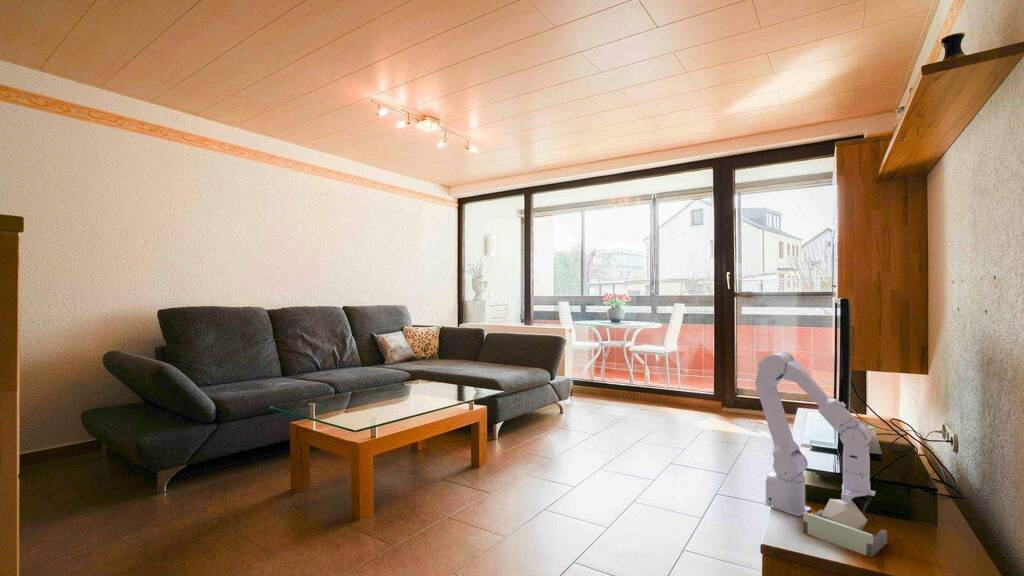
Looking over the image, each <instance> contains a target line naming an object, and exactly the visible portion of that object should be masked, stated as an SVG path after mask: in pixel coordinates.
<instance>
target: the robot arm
mask: <svg viewBox="0 0 1024 576" xmlns="http://www.w3.org/2000/svg"><path fill="white" fill-rule="evenodd" d="M757 366H758V369H757V370H758V371H757V373H756V378H755V381H754V383H755V388H756V391H757V395H758V397H759V400H760V403H761V408H762V410H763V413H764V417H765V420H766V423H767V426H768V429H769V432H770V435H771V440H772V442H773V443H772V444H773V448H772V457H773V462H772V463H773V464H772V467H773V471H770V472H769V473H768V474H767V476H766V479H765V502H764V506H767V507H769V508H771V509H772V508H773V509H776V510H779V511H781V512H784V513H786V514H790V515H792V516H795V517H799V518H800V517H801V516H803V513H804V512H807V513H809V511H811V510H812V508H811V507H810V506H807V505H806V476H805V475H804V472H805V471H806V470H807V468H808V464H809V463H808V460H807V458H806V456H805V455H804V453H803V452H802V451H801V448H800V447H799V446H800V445H799V444H797V442H796V441H795V440H794V438H793V435H792V431H791V428H790V425H789V421H788V419H787V416H786V415H787V414H786V412H785V409H784V406H783V403H782V400H781V397H780V394H779V393H780V392H779V390H778V388H777V386H778V384H780V382H781V380H787V381H790V382H795V383H796V385H798V387H800V388H801V389H802V391H804V392H805V393H806V394H807V395H808V396H809V397H810V399H812V400H813V401H814V402H815V403H816V404H817V407H818V412H819V414H820V415H821V416H822V417H823V418H824V419H825V420H826V422H827V423H828V424H829V425H830V426H831V427H832V429H834V430H835V431H836V432H837V433H839V434H840V435H839V441H840V442H841V443H842V445H843V450H842V484H841V489H842V492H841V494H840V497H841V499H840V500H841V501H844V502H848V503H851V502H852V501H853V502H854V504H855V505H856V506H857V507H858V509H859V510H860V511H861V512H862V514H863V515H864V516H865V512H866V510H867V507H868V505H869V503H870V502H871V501H872V497H873V496H876V491H875V490H871V482H870V479H871V478H870V477H871V473H870V472H871V471H870V469H871V468H870V466H871V463H870V461H871V460H870V459H871V457H870V445H869V443H870V442H871V440H872V436H873V434H872V432H871V429H870V428H869V427H868V425H866V424H865V423H863V422H861V420H860V419H859V418H856V417H854V415H853V414H852V413H851V412H850V411H849V410H848V409H847V408H846V406H847V405H846V404H845V403H844V402H843V401H841V402H840V401H839V399H836V398H832V397H829V396H828V395H827V393H826V392H825V391H824V390H823V389H822V388H821V386H819V385H818V382H816V381H815V380H814V379H813V378H812V376H811V375H810V374H809V373H808V372H807V371H806V369H805V368H804V367H803V366H802V365H801V363H800V362H799V361H798V360H796V359H795V358H794V357H793V355H792V354H790V353H789V352H786V351H779V352H776V353H769V354H767V355H765V356H763V357H762V358H761V360H760V361H759V362H758V365H757ZM772 505H773V507H772Z"/></svg>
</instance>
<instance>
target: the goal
mask: <svg viewBox="0 0 1024 576" xmlns="http://www.w3.org/2000/svg"><path fill="white" fill-rule="evenodd" d="M823 511H824V509H819V510H818V511H816V512H815V513H810V512H804V513H803V515H802V518H803V519H802V520H803V525H802V528H803V529H802V530H803V531H802V532H803V533H804V534H807V535H810V536H811V537H815V538H817V539H820V540H823V541H825V542H828V543H831V544H834V545H836V546H839V547H842V548H845V549H848V550H850V551H853V552H856V553H858V554H861V555H864V556H866V557H869V558H873V557H875V555H876V554H877V553H878V552H879V551H880V550H881V549H882V548H883V547H884V546H886V545H887V544H888V530H886V529H880V531H878V532H877V533H876V534H875V535H874V534H872V533H869V532H866V531H863V530H862V531H861V530H858V529H855V528H852V527H849V526H846V525H843V524H840V523H837V522H834V521H831V520H828V519H825V518H822V516H821V515H822V513H823Z"/></svg>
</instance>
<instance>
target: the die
mask: <svg viewBox="0 0 1024 576" xmlns="http://www.w3.org/2000/svg"><path fill="white" fill-rule="evenodd" d="M823 510H824V511H823V513H822V515H821V516H822V518H825V519H828V520H831V521H834V522H837V523H840V524H843V525H846V526H849V527H852V528H855V529H858V530H861V531H863V529H864V528H865V526H866V524H867V522H868V519H867V518H866V516H865V514H864V515H863V514H862V512H861V511H860V510H859V509H858V507H857V506H856V505H855V504H854V502H853V501H852V502H851V503H848V502H844V501H841V499H835V498H829V500H828V502H827V503H826V506H825V507H824V509H823Z"/></svg>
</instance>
